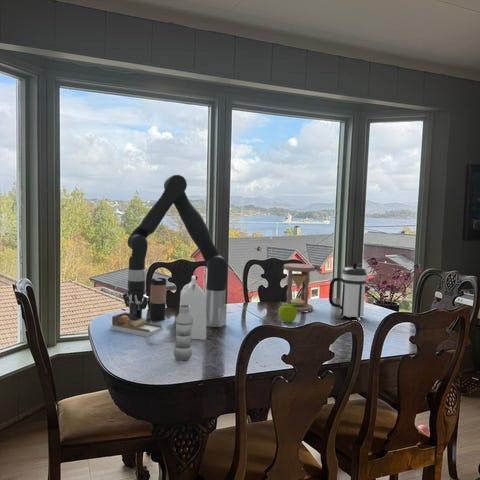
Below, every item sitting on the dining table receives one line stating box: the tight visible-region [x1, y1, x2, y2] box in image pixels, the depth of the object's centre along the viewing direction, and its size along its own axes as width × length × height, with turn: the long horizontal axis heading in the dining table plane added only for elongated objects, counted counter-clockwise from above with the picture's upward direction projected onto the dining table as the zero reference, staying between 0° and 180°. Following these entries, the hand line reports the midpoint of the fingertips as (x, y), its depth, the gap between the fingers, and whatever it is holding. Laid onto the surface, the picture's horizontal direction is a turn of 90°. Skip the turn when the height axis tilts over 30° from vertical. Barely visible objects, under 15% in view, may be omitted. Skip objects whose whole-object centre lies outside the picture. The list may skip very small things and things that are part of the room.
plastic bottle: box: [173, 305, 193, 361], centre depth 171 cm, size 6×7×20 cm
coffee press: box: [328, 262, 370, 318], centre depth 246 cm, size 17×16×30 cm
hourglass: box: [281, 263, 316, 312], centre depth 262 cm, size 18×18×25 cm
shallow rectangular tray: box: [109, 321, 164, 337], centre depth 208 cm, size 20×12×2 cm, turn 65°
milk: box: [178, 275, 207, 340], centre depth 202 cm, size 12×12×26 cm
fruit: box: [278, 301, 298, 323], centre depth 232 cm, size 9×9×10 cm
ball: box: [122, 315, 129, 324], centre depth 211 cm, size 4×4×4 cm
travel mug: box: [149, 277, 167, 322], centre depth 227 cm, size 8×8×20 cm
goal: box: [111, 312, 130, 327], centre depth 211 cm, size 6×8×4 cm, turn 155°
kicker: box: [126, 303, 146, 327], centre depth 208 cm, size 5×7×10 cm
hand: (135, 316), depth 208 cm, fingers closed on kicker, 3 cm apart
